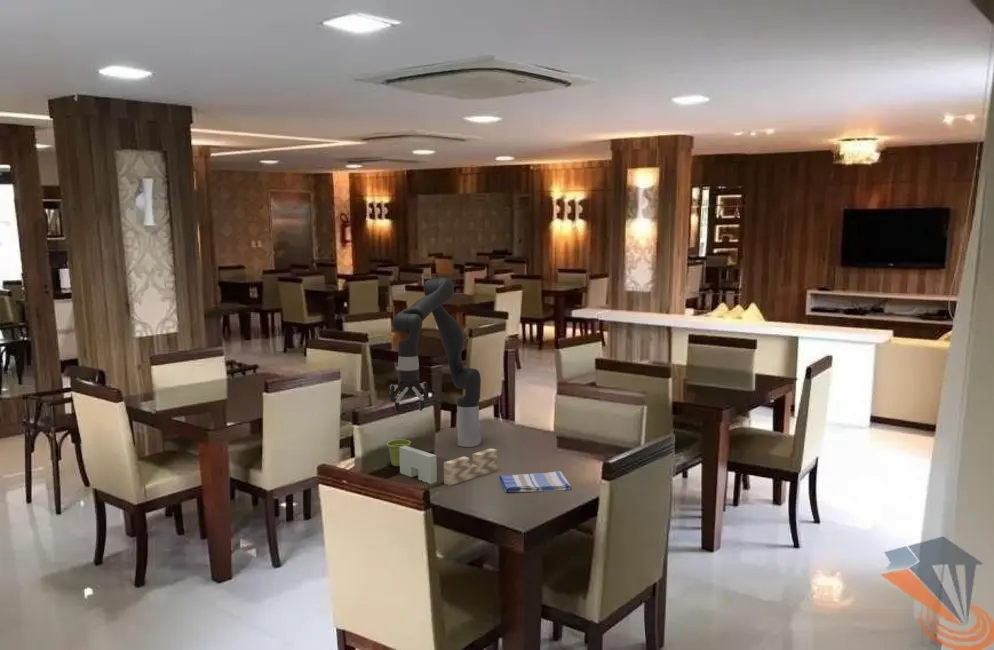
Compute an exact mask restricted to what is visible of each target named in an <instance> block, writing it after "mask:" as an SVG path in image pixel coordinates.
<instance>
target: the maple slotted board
mask: <svg viewBox="0 0 994 650" xmlns="http://www.w3.org/2000/svg"><path fill="white" fill-rule="evenodd" d="M471 456H472V463H471V461H470V457H467V456H460V457H458V458H455V459H450V460H447V461H444V462H443V483H444V485H447V486H454V485H457V484H458V483H462V482H465V481H468V480H469V481H470V480H471V479H475V478H478V477H480V476H485V475H487V474H489V473H493V472H497V471H498V449H496V448H487V449H484V450H481V451H478V452H475V453H472V455H471Z"/></svg>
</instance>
